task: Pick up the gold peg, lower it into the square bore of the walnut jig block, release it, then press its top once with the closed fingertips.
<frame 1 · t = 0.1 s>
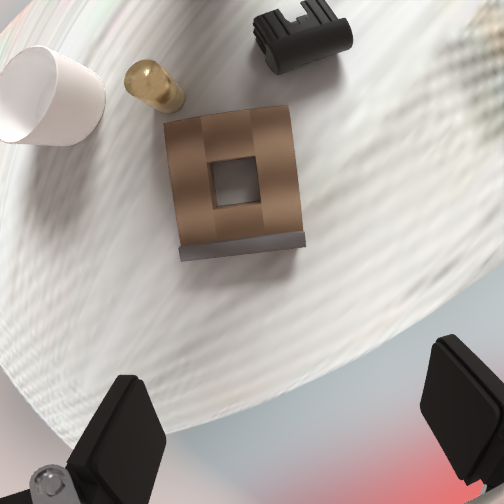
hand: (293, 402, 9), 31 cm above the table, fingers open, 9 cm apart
cup: (72, 106, 35), on the table
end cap: (298, 47, 33), on the table
gold peg: (169, 98, 35), on the table
jig: (236, 181, 38), on the table
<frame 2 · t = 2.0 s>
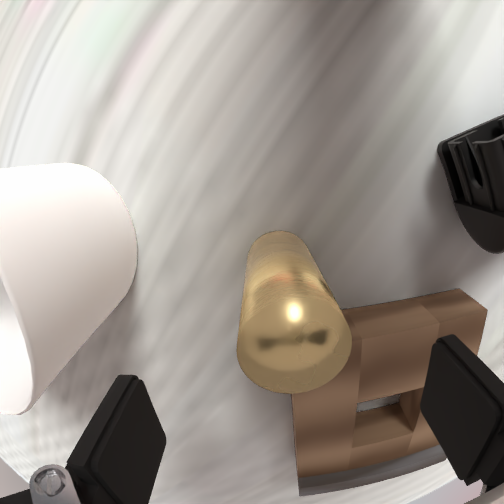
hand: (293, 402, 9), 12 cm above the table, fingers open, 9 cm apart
cup: (69, 242, 20), on the table
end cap: (488, 170, 18), on the table
gold peg: (278, 261, 20), on the table
jig: (374, 387, 23), on the table
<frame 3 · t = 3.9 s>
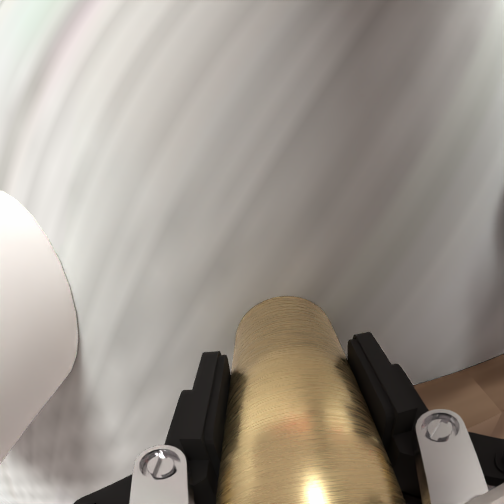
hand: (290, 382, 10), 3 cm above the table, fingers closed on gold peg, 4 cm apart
gold peg: (284, 340, 12), on the table, touching gripper
jig: (399, 468, 15), on the table
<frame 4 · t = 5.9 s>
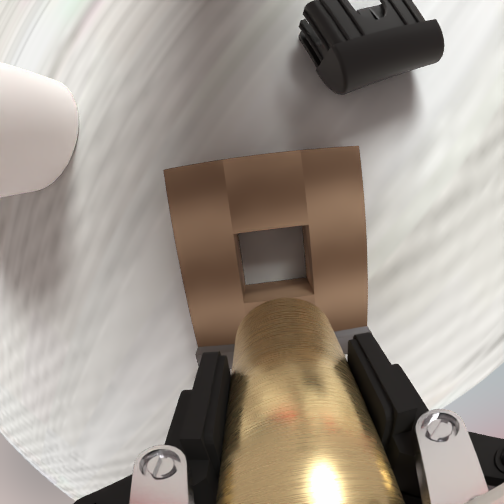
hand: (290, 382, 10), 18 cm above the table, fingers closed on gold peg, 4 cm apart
cup: (36, 134, 24), on the table
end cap: (358, 52, 22), on the table
gold peg: (284, 342, 12), point 15 cm above the table, touching gripper
jig: (272, 251, 27), on the table
when the fingers open (5 cm above the table, at t = 8.3 s): gold peg drops 2 cm, resting in jig.
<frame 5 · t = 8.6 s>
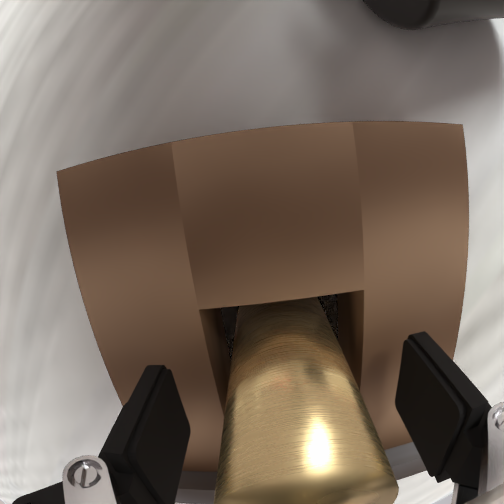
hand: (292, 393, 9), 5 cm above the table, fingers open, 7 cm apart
gold peg: (280, 319, 14), resting in jig
jig: (281, 319, 14), on the table
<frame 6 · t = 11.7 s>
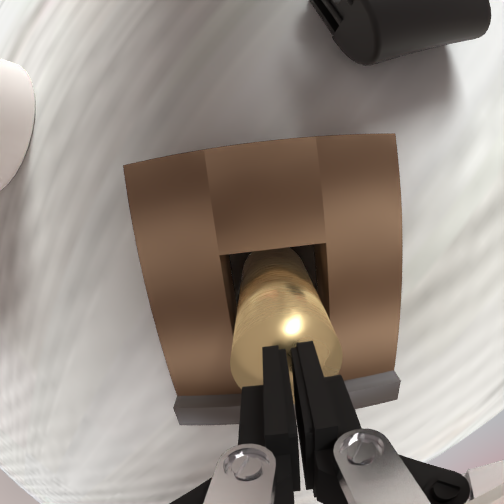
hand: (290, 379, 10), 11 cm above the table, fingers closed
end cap: (383, 21, 16), on the table
gold peg: (273, 273, 20), resting in jig
jig: (274, 274, 20), on the table
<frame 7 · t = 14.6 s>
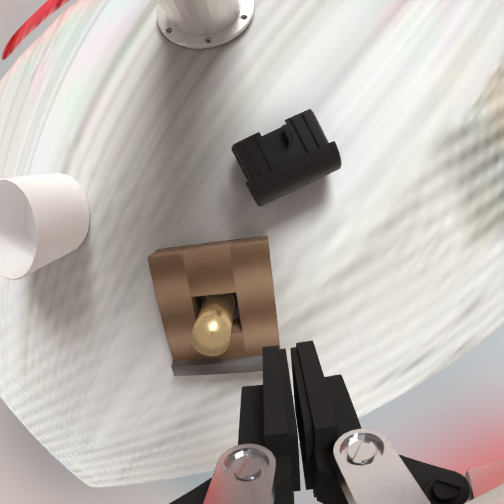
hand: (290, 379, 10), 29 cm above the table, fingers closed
cup: (58, 214, 38), on the table
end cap: (282, 159, 36), on the table
gold peg: (220, 302, 41), resting in jig
jig: (220, 302, 41), on the table
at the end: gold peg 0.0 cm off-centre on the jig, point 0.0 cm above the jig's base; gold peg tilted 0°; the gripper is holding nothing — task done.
